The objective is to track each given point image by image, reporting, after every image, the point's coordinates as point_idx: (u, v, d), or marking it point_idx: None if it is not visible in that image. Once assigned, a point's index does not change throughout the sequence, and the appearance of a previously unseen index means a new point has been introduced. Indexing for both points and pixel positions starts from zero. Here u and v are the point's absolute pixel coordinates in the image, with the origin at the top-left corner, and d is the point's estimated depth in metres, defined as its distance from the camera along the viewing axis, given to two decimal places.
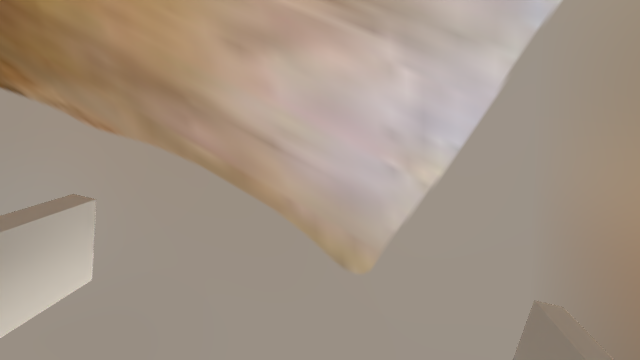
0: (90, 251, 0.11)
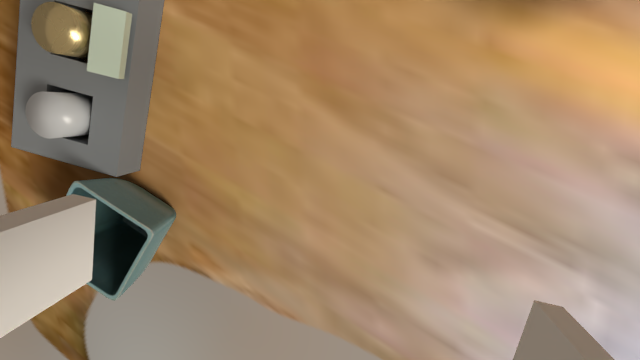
0: (90, 251, 0.11)
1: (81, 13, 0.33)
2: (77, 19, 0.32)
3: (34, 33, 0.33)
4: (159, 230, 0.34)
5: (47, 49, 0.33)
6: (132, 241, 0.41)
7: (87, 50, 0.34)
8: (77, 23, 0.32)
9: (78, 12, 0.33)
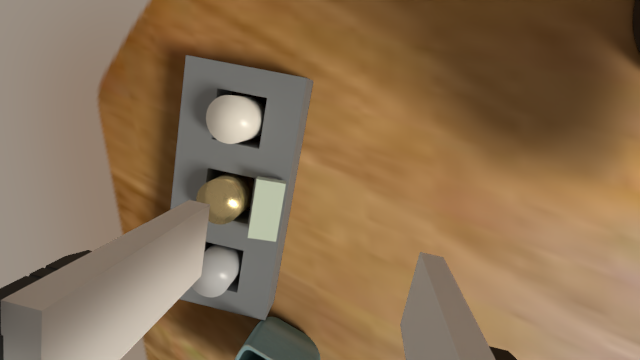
0: (201, 251, 0.13)
1: (237, 182, 0.36)
2: (239, 193, 0.34)
3: None
4: None
5: (211, 221, 0.35)
6: None
7: (241, 212, 0.36)
8: (240, 197, 0.34)
9: (236, 183, 0.35)
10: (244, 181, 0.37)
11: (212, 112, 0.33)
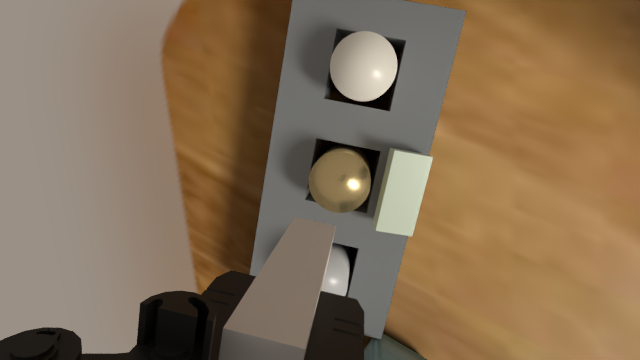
0: None
1: (360, 156, 0.26)
2: (368, 170, 0.25)
3: (310, 189, 0.26)
4: None
5: (328, 208, 0.26)
6: None
7: None
8: (369, 176, 0.25)
9: (360, 157, 0.26)
10: (363, 156, 0.28)
11: (340, 56, 0.24)
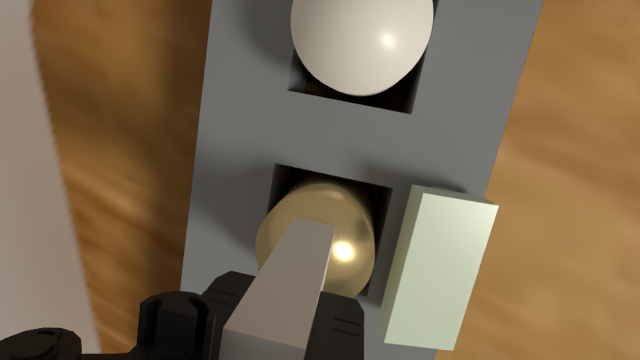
0: None
1: (355, 198, 0.14)
2: (370, 229, 0.13)
3: (258, 262, 0.14)
4: None
5: None
6: None
7: None
8: (373, 240, 0.13)
9: (354, 200, 0.14)
10: (360, 194, 0.15)
11: None
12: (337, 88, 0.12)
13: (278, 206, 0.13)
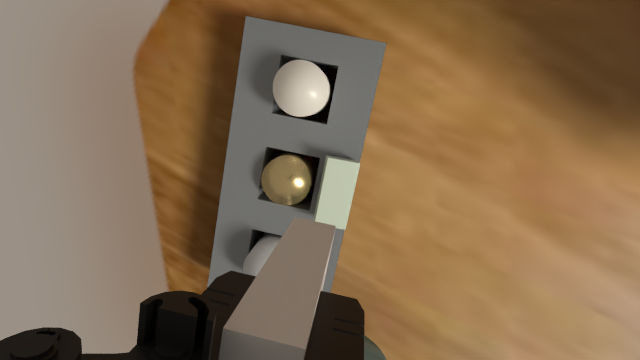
0: None
1: (304, 160, 0.33)
2: (309, 171, 0.32)
3: (262, 186, 0.32)
4: None
5: (277, 201, 0.32)
6: None
7: None
8: (310, 175, 0.32)
9: (303, 160, 0.32)
10: (308, 159, 0.34)
11: (280, 80, 0.28)
12: (291, 114, 0.29)
13: (271, 161, 0.31)
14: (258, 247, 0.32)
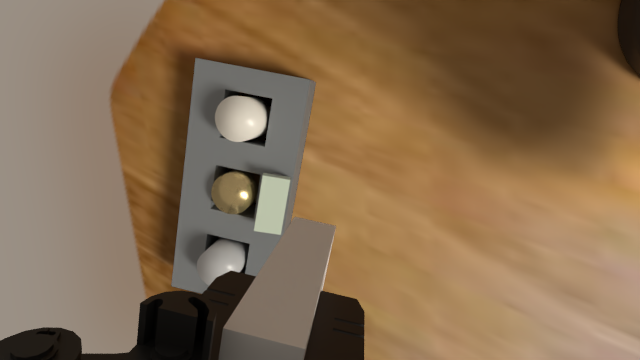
0: None
1: (248, 175, 0.39)
2: (250, 185, 0.38)
3: (212, 198, 0.38)
4: None
5: (225, 211, 0.38)
6: None
7: (251, 203, 0.40)
8: (251, 189, 0.38)
9: (247, 176, 0.39)
10: (254, 175, 0.40)
11: (221, 112, 0.35)
12: (230, 140, 0.35)
13: None
14: (209, 249, 0.38)
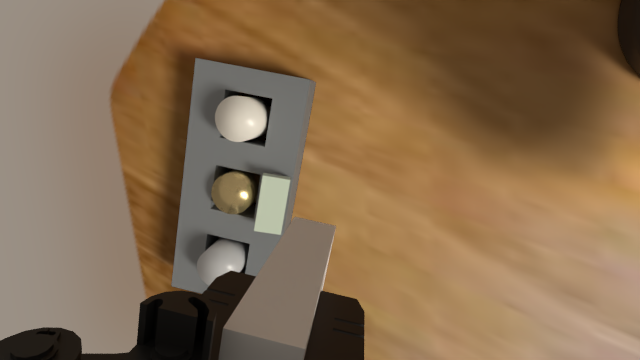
0: None
1: (248, 175, 0.39)
2: (250, 185, 0.38)
3: (212, 198, 0.38)
4: None
5: (225, 211, 0.38)
6: None
7: (251, 203, 0.40)
8: (251, 189, 0.38)
9: (247, 176, 0.39)
10: (254, 175, 0.40)
11: (221, 112, 0.35)
12: (230, 140, 0.35)
13: None
14: (209, 249, 0.38)
